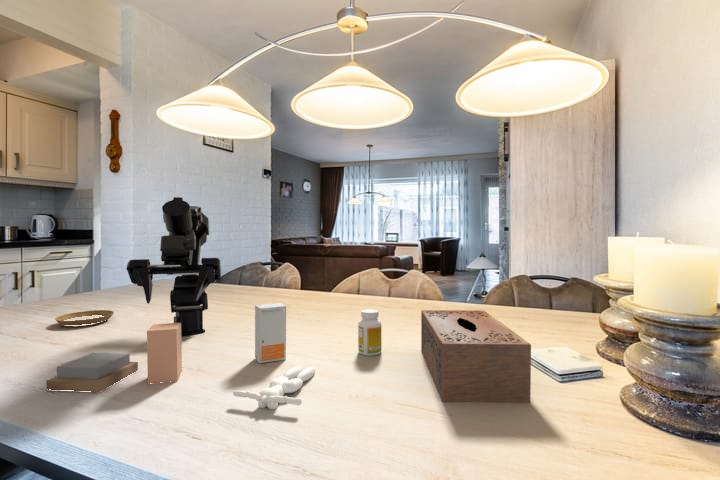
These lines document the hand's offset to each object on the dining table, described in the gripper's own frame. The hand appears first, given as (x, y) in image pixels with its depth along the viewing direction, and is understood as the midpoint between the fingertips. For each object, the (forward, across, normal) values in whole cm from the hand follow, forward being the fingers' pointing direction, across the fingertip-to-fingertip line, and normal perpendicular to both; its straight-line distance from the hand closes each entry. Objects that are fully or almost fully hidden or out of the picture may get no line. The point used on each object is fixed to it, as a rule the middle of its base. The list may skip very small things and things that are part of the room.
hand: (172, 301), depth 79 cm
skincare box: (+12, +20, +7) cm, 25 cm away
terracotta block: (+15, 0, +4) cm, 16 cm away
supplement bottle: (+13, +42, +6) cm, 45 cm away
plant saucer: (-24, -33, +43) cm, 59 cm away
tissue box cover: (+26, +57, -6) cm, 63 cm away
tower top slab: (+12, -13, +4) cm, 18 cm away
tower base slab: (+14, -12, +6) cm, 20 cm away
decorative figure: (+24, +22, -4) cm, 33 cm away
